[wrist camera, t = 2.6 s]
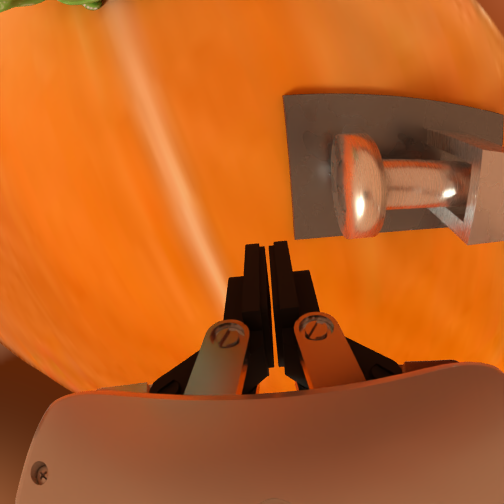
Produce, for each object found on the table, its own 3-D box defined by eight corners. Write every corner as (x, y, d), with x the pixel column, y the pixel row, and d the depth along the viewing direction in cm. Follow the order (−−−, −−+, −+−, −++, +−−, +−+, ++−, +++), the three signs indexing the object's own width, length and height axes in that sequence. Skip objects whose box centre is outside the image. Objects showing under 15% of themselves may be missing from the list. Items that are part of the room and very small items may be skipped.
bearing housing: (499, 113, 20) (556, 133, 12) (487, 221, 27) (531, 260, 19) (282, 95, 22) (295, 95, 14) (294, 235, 29) (306, 295, 21)
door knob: (462, 133, 21) (514, 155, 14) (455, 206, 25) (498, 243, 18) (328, 127, 22) (358, 143, 15) (331, 213, 26) (355, 259, 19)
